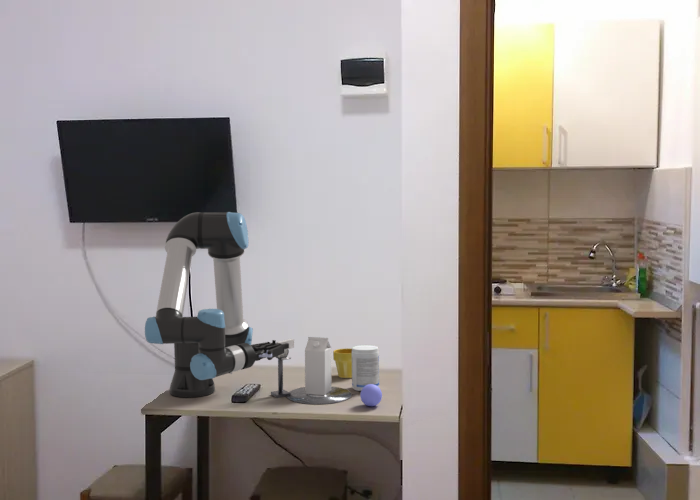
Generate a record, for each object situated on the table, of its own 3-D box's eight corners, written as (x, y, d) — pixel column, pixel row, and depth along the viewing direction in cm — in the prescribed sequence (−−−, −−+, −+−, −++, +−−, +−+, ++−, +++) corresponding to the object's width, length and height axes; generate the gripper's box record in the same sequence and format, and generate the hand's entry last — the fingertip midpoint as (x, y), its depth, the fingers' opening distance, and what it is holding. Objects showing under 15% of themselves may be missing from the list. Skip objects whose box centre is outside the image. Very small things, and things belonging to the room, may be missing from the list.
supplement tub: (384, 389, 253) (384, 347, 252) (364, 393, 247) (364, 351, 246) (366, 384, 260) (366, 343, 259) (346, 388, 254) (346, 347, 253)
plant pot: (335, 372, 277) (335, 347, 277) (362, 373, 276) (361, 348, 276) (331, 379, 267) (331, 353, 266) (359, 380, 266) (359, 353, 265)
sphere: (376, 410, 227) (376, 388, 227) (356, 407, 230) (356, 385, 230) (385, 404, 234) (385, 383, 233) (365, 401, 237) (365, 380, 236)
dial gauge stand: (278, 398, 241) (277, 346, 240) (270, 394, 246) (270, 343, 245) (291, 396, 244) (291, 344, 243) (284, 392, 249) (283, 342, 247)
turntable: (305, 407, 230) (305, 406, 230) (275, 392, 248) (275, 391, 248) (363, 398, 241) (363, 396, 241) (331, 384, 260) (331, 383, 260)
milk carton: (312, 389, 251) (311, 335, 250) (331, 390, 249) (331, 336, 248) (305, 394, 245) (304, 338, 243) (324, 395, 243) (324, 339, 241)
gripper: (223, 366, 219) (277, 351, 237) (253, 373, 210) (307, 357, 229) (222, 341, 218) (277, 328, 236) (252, 348, 210) (307, 334, 228)
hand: (292, 343), depth 232 cm, fingers closed
